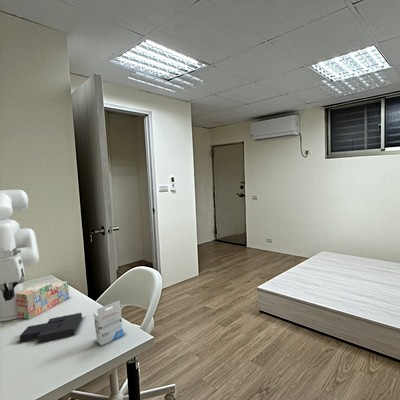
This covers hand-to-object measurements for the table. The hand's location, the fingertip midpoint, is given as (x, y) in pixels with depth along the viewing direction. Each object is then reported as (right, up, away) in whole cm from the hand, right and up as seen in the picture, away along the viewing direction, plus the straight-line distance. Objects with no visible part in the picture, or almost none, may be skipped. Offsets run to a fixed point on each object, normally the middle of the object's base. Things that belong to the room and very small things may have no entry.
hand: (9, 299), depth 105 cm
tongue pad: (+9, -16, +5) cm, 20 cm away
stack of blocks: (-8, -15, +28) cm, 33 cm away
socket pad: (+15, -16, +8) cm, 23 cm away
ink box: (+40, -16, 0) cm, 43 cm away
